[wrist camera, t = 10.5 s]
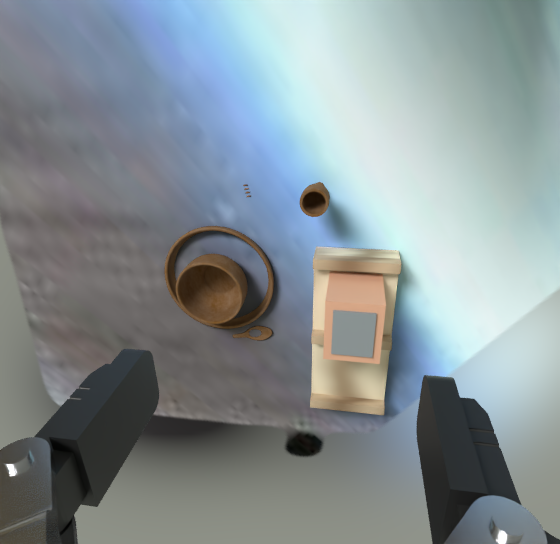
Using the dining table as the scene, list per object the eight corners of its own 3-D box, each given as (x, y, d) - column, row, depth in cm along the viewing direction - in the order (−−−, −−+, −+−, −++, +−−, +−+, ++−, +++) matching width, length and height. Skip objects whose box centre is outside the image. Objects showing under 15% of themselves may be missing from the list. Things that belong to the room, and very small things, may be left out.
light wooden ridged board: (398, 250, 41) (401, 264, 39) (382, 395, 49) (383, 415, 46) (316, 246, 43) (313, 259, 40) (313, 388, 50) (310, 407, 48)
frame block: (382, 274, 41) (386, 306, 35) (377, 327, 43) (379, 365, 38) (329, 270, 41) (325, 302, 36) (327, 323, 44) (322, 360, 38)
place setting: (143, 208, 45) (115, 226, 40) (329, 161, 40) (325, 176, 34) (200, 345, 51) (181, 376, 46) (366, 321, 46) (366, 353, 41)
